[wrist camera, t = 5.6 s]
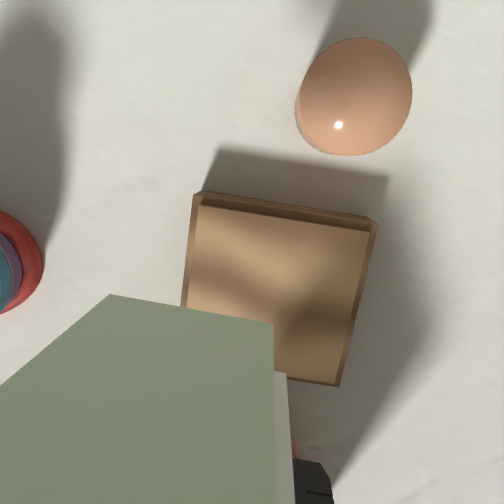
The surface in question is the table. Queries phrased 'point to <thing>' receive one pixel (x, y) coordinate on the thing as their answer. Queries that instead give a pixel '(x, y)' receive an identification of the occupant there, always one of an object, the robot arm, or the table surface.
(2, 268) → the stacking bear
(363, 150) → the peach rounded cylinder
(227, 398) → the sage block
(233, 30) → the table surface
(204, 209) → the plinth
